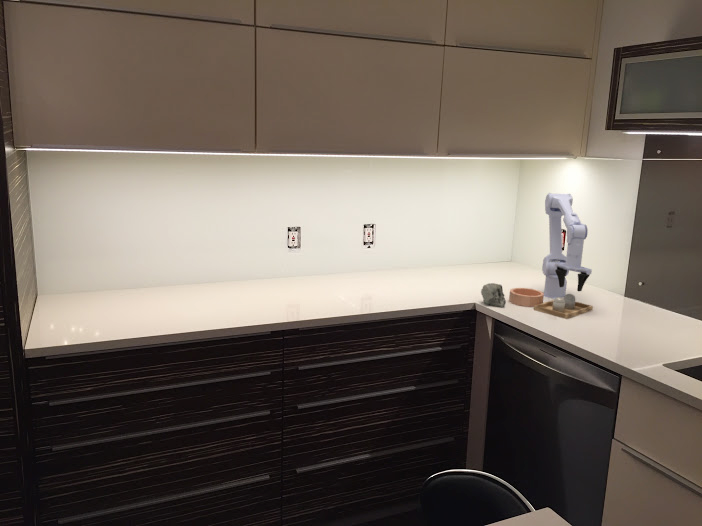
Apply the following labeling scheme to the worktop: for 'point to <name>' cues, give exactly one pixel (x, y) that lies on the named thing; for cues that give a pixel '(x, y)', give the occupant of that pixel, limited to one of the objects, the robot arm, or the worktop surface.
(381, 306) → the worktop surface
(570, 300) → the pebble
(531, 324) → the worktop surface
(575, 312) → the tray
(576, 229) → the robot arm
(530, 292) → the bowl
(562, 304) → the pebble
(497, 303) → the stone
